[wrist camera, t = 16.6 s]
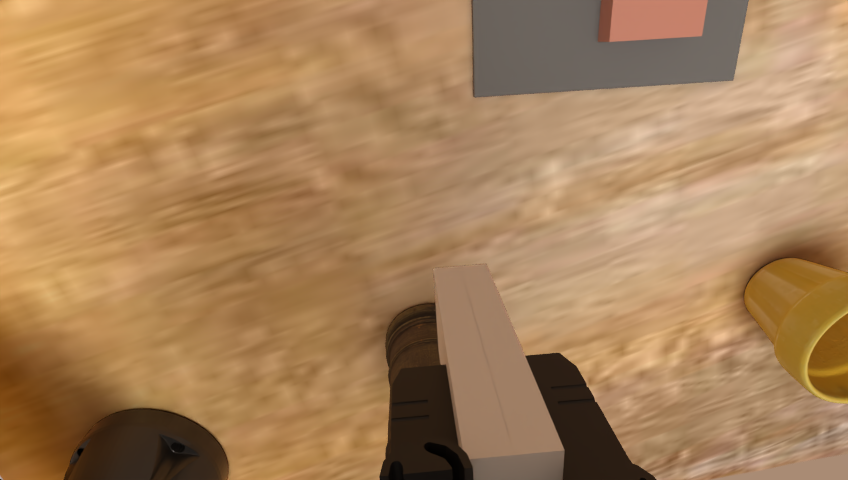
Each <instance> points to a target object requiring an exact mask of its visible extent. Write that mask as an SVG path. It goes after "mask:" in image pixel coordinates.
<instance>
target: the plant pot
mask: <svg viewBox="0 0 848 480" xmlns="http://www.w3.org/2000/svg"><path fill="white" fill-rule="evenodd" d="M744 302H745V305H746V308H747V309H748V311H749V312H750V313H751V315H752V316H753V317H754V319H755V320H756V321H757V323H758V324H759V325H760V327H761V328H762V329H763V331H764V332H765V334H766V335H767V336H768V338H769V339H770V340H771V342H772V343H773V345H774V351H775V355H776V357H777V359H778V361H779V363H780V364H781V365H782V367H783V368H784V369H785V370H786V371H787V372H788V373H789V374H790V375H791V376H792V377H793V378H794V379H795V380H797V381H798V382H799V383H800V384H801V385H802V386H803V387H804V388H806V389H807V390H808V391H809V392H810V393H812V394H813V395H815V396H816V397H818V398H820V399H823V400H825V401H829V402H833V403H844V404H846V403H848V272H844V271H841V270H837V269H834V268H830V267H827V266H824V265H820V264H817V263H813V262H810V261H806V260H803V259H798V258H784V259H780V260H776V261H774V262H771V263H769V264H767V265H766V266H764V267H763V268H761V269H760V270H759V271H758V272H757V273H756V274H755V275H754V276H753V277H752V278H751V280H750V281H749V283H748V285H747V287H746V290H745V294H744Z"/></svg>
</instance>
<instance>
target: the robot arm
mask: <svg viewBox="0 0 848 480" xmlns="http://www.w3.org/2000/svg"><path fill="white" fill-rule="evenodd" d="M433 275H434V289H435V304H436V319H437V334H438V349H439V357H440V364H441V365H434V366H423V367H411V368H401V370H400V372H399V373H398V375H397V377H396V378H395V380H394V382H393V384H392V401H391V403H392V407H391V453H390V454H389V455H388V456H387V458H386V459H385V460H384V462H383V465H382V469H381V473H380V476H379V477H380V480H656V479H655V477H654V476H653V475H651V474H650V473H648V472H647V471H645V470H644V469H642V468H641V467H639V466H638V465H635V464H632V462H631V461H630V460H629V458H628V456H627V455H626V453H625V451H624V449H623V448H622V446H621V444H620V442H619V441H618V439H617V437H616V435H615V434H614V432H613V430H612V428H611V426H610V425H609V423H608V421H607V419H606V418H605V416H604V414H603V412H602V411H601V409H600V407H599V405H598V404H597V402H595V399H594V396H593V395H592V393H591V391H590V389H589V388H588V387H587V386H586V382H585V381H584V379H583V377H582V375H581V374H580V372H579V370H578V368H577V367H576V366H575V365H574V364H573V363H571V362H570V361H569V360H568V359H566V358H565V357H564V356H562V355H561V354H560V353H551V354H540V355H529V356H525V354H524V352H523V350H522V347H521V345H520V342H519V340H518V338H517V335H516V333H515V330H514V328H513V326H512V323H511V321H510V319H509V316H508V314H507V311H506V309H505V307H504V304H503V302H502V299H501V297H500V295H499V292H498V290H497V287H496V285H495V283H494V280H493V278H492V275H491V273H490V271H489V268H488V266H487V264H476V265H464V266H452V267H441V268H433ZM227 478H228V462H227V458H226V456H225V453H224V451H223V450H222V448H221V446H220V445H219V443H218V442H217V441H216V440H215V439H214V438H213V437H212V436H211V435H210V434H209V433H208V432H207V431H206V430H204V429H203V428H202V427H200V426H199V425H197V424H195V423H193V422H192V421H190V420H188V419H185V418H183V417H181V416H178V415H175V414H172V413H168V412H164V411H158V410H149V409H136V410H127V411H122V412H118V413H115V414H112V415H110V416H108V417H106V418H104V419H102V420H101V421H99V422H98V423H97V424H96V425H95V426H94V427H93V428H92V429H91V430H90V431H89V432H88V434H87V435H86V436H85V437H84V438H83V440H82V441H81V442H80V443H79V445H78V446H77V448H76V449H75V451H74V453H73V456H72V458H71V461H70V465H69V467H68V469H67V472H66V474H65V477H64V480H227ZM0 480H2V479H0Z"/></svg>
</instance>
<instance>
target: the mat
mask: <svg viewBox="0 0 848 480" xmlns="http://www.w3.org/2000/svg"><path fill="white" fill-rule="evenodd" d="M748 1H749V0H708V2H707V8H706V14H705V21H704V27H703V33H702V36H696V37H680V38H664V39H648V40H632V41H616V42H598V32H599V20H600V8H601V0H472V29H473V87H474V97H488V96H503V95H518V94H534V93H549V92H564V91H579V90H595V89H610V88H625V87H641V86H656V85H671V84H686V83H702V82H717V81H732V80H733V79H734V74H735V69H736V64H737V58H738V53H739V48H740V43H741V37H742V32H743V27H744V22H745V16H746V11H747V6H748Z"/></svg>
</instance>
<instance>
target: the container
mask: <svg viewBox="0 0 848 480" xmlns="http://www.w3.org/2000/svg"><path fill="white" fill-rule="evenodd" d="M386 358H387V363H388V366H389V373H388V378H389V384H390V406H389V422H388V443H387V446H386V458H387V456H388V455H389V454H390V453H391V407H392V403H391V401H392V384H393V382H394V380H395V378H396V377H397V375H398V373H399V372H400V370H401V368H411V367H423V366H434V365H441V364H440V357H439V349H438V334H437V319H436V304H423V305H418V306H415V307H412V308H409V309H407V310H405V311H404V312H402V313H401V314H399V315H398V316H397V317H396V318H395V319H394V321H393V322H392V324H391V325H390V327H389V329H388V332H387V336H386Z"/></svg>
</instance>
